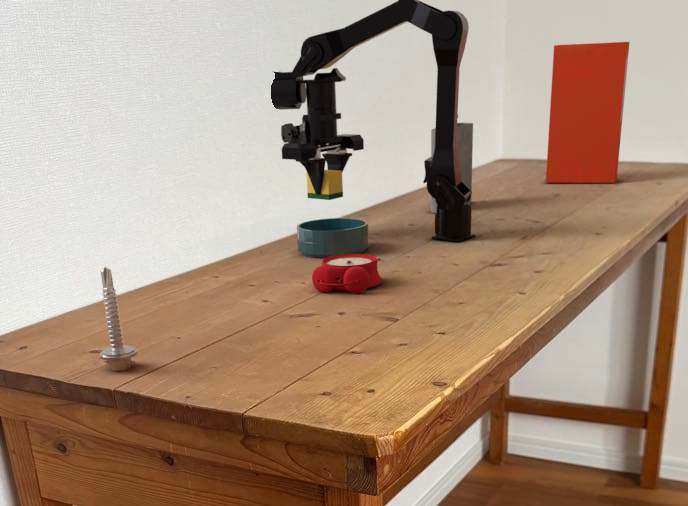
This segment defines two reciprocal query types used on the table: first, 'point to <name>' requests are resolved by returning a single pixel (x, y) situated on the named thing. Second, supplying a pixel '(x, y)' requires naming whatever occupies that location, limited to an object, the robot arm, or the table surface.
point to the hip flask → (459, 155)
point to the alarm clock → (347, 273)
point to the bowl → (332, 237)
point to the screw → (114, 328)
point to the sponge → (327, 186)
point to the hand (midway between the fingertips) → (325, 192)
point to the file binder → (586, 112)
